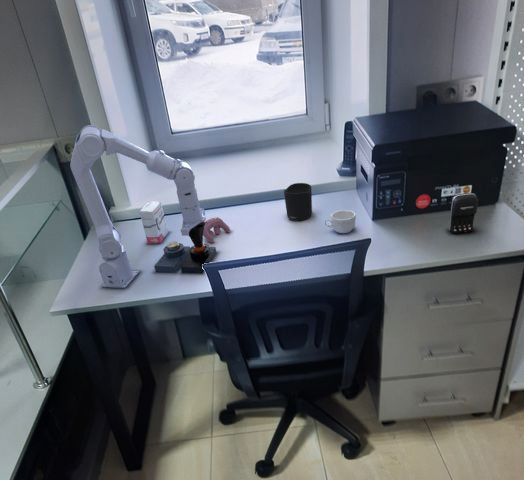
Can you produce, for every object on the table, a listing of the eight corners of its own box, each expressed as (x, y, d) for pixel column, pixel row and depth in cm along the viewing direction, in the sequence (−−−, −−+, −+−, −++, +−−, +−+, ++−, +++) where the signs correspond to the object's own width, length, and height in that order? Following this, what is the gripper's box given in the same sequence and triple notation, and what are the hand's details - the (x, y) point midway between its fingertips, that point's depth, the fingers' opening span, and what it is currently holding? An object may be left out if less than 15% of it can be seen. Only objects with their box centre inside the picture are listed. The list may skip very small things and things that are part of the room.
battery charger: (451, 235, 151) (455, 199, 144) (447, 230, 154) (452, 194, 147) (475, 233, 151) (480, 196, 143) (471, 227, 154) (476, 191, 146)
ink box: (161, 243, 172) (151, 211, 165) (147, 244, 173) (138, 211, 166) (169, 232, 178) (161, 200, 171) (156, 232, 180) (147, 201, 172)
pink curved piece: (224, 233, 175) (214, 215, 173) (232, 230, 172) (222, 211, 170) (205, 245, 170) (194, 227, 168) (212, 242, 166) (202, 223, 164)
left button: (176, 251, 158) (175, 246, 157) (166, 251, 159) (165, 246, 158) (181, 246, 160) (179, 241, 159) (171, 246, 161) (169, 241, 160)
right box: (202, 273, 152) (199, 262, 150) (181, 273, 154) (178, 261, 152) (216, 252, 162) (214, 241, 159) (197, 252, 164) (194, 241, 161)
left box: (175, 272, 155) (172, 261, 152) (155, 272, 157) (152, 260, 154) (191, 252, 164) (188, 241, 162) (172, 251, 166) (169, 241, 164)
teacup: (354, 224, 165) (354, 208, 162) (357, 234, 159) (356, 218, 156) (324, 226, 166) (323, 211, 163) (325, 237, 160) (324, 221, 157)
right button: (203, 254, 156) (202, 249, 155) (192, 253, 157) (191, 248, 156) (207, 248, 158) (206, 243, 157) (196, 248, 159) (195, 243, 158)
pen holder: (282, 214, 178) (279, 187, 172) (307, 208, 180) (305, 180, 174) (291, 224, 171) (289, 196, 165) (317, 217, 173) (315, 189, 166)
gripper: (192, 215, 141) (202, 257, 150) (210, 194, 152) (218, 235, 160) (170, 215, 143) (181, 257, 152) (189, 195, 154) (198, 235, 162)
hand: (199, 246), depth 156 cm, fingers closed, pressing on right button
